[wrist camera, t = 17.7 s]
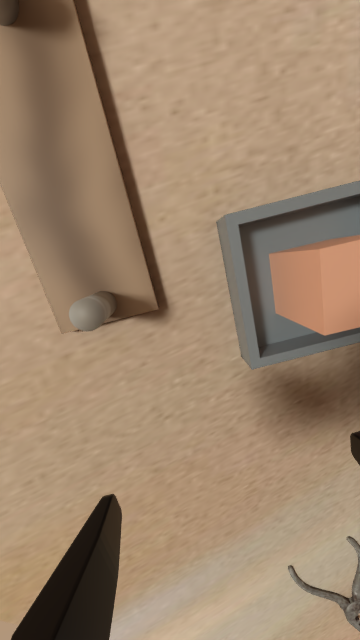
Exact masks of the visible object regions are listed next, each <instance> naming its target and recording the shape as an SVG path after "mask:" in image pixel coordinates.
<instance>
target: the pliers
mask: <svg viewBox="0 0 360 640" xmlns="http://www.w3.org/2000/svg"><path fill="white" fill-rule="evenodd" d="M347 540H348V542H349V543H350V544H351V545H352V546H353V547H354V548H355V550H356V552H357V555H358V567H357V571H356V575H355V578H354V581H353V585H352V597H351V598H346V597H344V596H342V595H339V594H337V593H334V592H330V591H326V590H322V589H318V588H315V587H312V586H309V585H307V584H305V583H304V582H303V581H301V580H300V579H299V578H298V577H297V575H296V574H295V572H294V569H293V567H292V566H291V565H290V566H288V569H289V572H290V575H291V577H292V578H293V580H294V581H295V582H296V584H297V585H298V586H300V587H301V588H302V589H303V590H305V591H307V592H308V593H311V594H313V595H316V596H319V597H322V598H326V599H329V600H332V601H334V602H336V603H338V604H339V605H340V607H341V608H342V609H343V610H344V613H345V616H346V618H347V621H348V622H349V623H350V624H351V625H353V626H354V627H355V628H356V629H357V630H358V631H360V620H359V618H358V614H359V613H360V546H359V545H358V544H357V542H356V541H355V540H354V539H353V538H351V537H350V536H349V537H347Z"/></svg>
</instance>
